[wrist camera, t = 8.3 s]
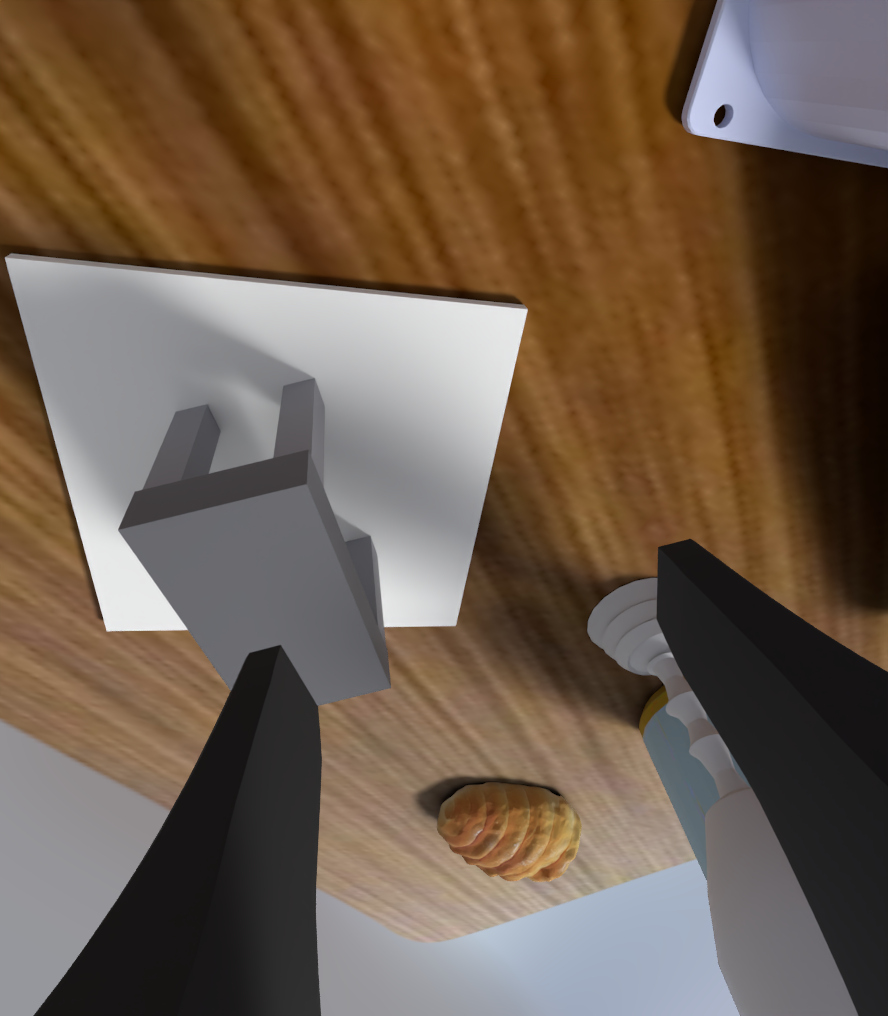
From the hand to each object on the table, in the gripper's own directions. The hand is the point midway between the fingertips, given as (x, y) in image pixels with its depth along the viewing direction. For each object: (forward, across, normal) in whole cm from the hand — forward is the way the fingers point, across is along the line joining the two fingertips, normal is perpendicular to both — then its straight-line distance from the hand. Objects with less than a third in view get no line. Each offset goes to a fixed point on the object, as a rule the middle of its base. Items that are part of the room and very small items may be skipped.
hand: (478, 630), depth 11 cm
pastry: (+11, +1, +30) cm, 32 cm away
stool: (+10, +5, +2) cm, 12 cm away
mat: (+10, +5, +2) cm, 12 cm away
